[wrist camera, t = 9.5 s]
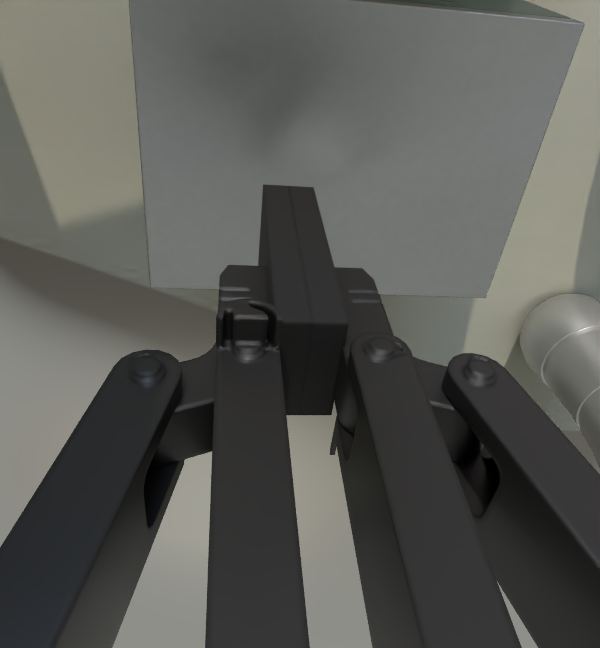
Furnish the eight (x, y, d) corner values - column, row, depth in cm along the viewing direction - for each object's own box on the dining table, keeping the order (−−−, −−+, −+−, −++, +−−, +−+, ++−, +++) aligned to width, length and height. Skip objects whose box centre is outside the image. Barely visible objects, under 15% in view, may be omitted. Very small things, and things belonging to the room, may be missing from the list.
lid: (152, 278, 25) (150, 288, 24) (130, -27, 18) (126, -24, 17) (480, 289, 27) (486, 298, 26) (574, 19, 20) (586, 23, 19)
